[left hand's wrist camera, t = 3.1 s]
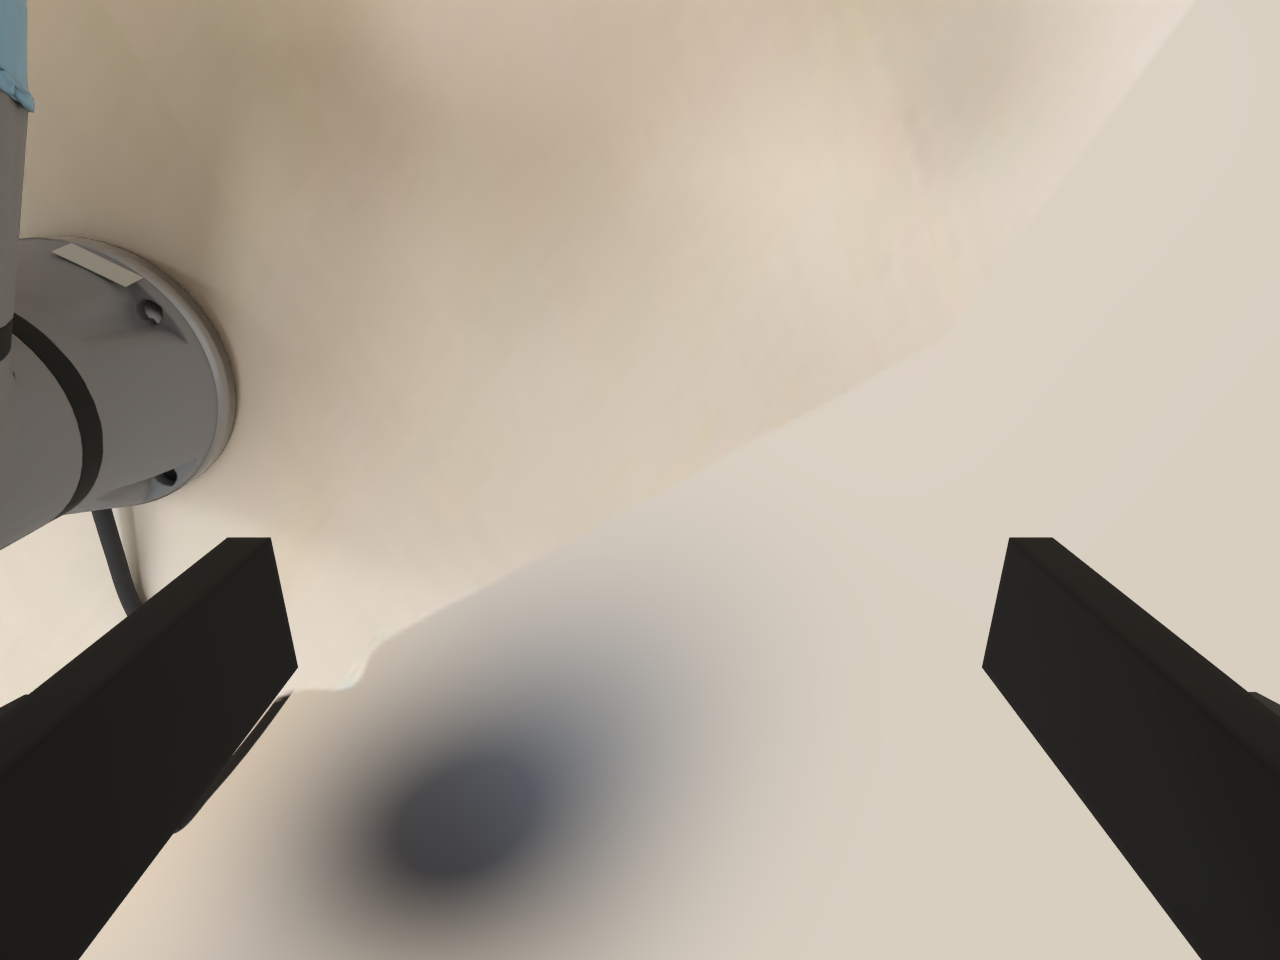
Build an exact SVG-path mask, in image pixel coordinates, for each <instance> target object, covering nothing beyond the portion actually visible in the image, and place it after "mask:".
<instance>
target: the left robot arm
mask: <svg viewBox="0 0 1280 960" xmlns="http://www.w3.org/2000/svg"><path fill="white" fill-rule="evenodd" d="M34 107H35V104H34V99H33V97H32V95H31V94H30V92H29V91H28V85H27V4H26V0H0V550H1V549H3V548H5V547H7V546H9V545H10V544H12V543H14V542H16V541H17V540H19V539H21V538H23V537H24V536H26V535H28V534H30V533H32V532H33V531H35V530H37V529H39V528H40V527H42V526H44V525H45V524H47V523H49V522H51V521H53V520H54V519H56V518H58V517H60V516H62V515H66V514H73V513H81V512H88V511H92V515H93V518H94V521H95V524H96V528H97V531H98V534H99V537H100V541H101V544H102V547H103V550H104V553H105V556H106V560H107V563H108V566H109V569H110V573H111V576H112V579H113V582H114V585H115V588H116V591H117V594H118V596H119V599H120V601H121V604H122V606H123V608H124V610H125V613H126V614H127V616H128V617H126V618H125V619H124V620H122V621H121V622H120V623H119V624H117V625H116V626H115V627H114V628H112V629H111V630H110V631H109V632H107V633H106V634H105V635H104V636H102V637H101V638H100V639H98V640H97V641H96V642H95V643H93V644H92V645H91V646H90V647H88V648H87V649H86V650H85V651H83V652H82V653H81V654H79V655H78V656H77V657H76V658H74V659H73V660H72V661H71V662H69V663H68V664H67V665H66V666H64V667H63V668H62V669H60V670H59V671H58V672H57V673H55V674H54V675H53V676H52V677H50V678H49V679H48V680H47V681H45V682H44V683H43V684H41V685H40V686H39V687H38V688H36V689H35V690H34V691H33V692H31V693H30V694H29V695H23V696H21V697H20V698H18V699H16V700H14V701H12V702H10V703H8V704H6V705H4V706H3V707H1V708H0V960H79V958H80V957H81V956H82V954H83V953H84V952H85V950H86V949H87V948H88V946H89V945H90V944H91V942H92V941H93V940H94V938H95V937H96V936H97V934H98V933H99V932H100V930H101V929H102V928H103V926H104V925H105V924H106V922H107V921H108V920H109V918H110V917H111V916H112V914H113V913H114V912H115V910H116V909H117V908H118V906H119V905H120V904H121V902H122V901H123V900H124V898H125V897H126V896H127V895H128V893H129V892H130V890H131V889H132V888H133V887H134V885H135V884H136V883H137V881H138V880H139V879H140V877H141V876H142V875H143V873H144V872H145V871H146V869H147V868H148V866H149V865H150V864H151V863H152V861H153V860H154V858H155V857H156V856H157V855H158V853H159V852H160V851H161V849H162V848H163V846H164V845H165V844H166V843H167V841H168V840H169V839H170V837H171V836H172V835H173V834H174V833H177V832H179V831H180V830H182V829H183V828H184V827H186V826H187V825H188V824H189V823H190V821H191V820H192V819H193V818H194V817H195V816H196V814H197V813H198V812H199V811H200V809H201V808H202V807H203V806H204V804H205V803H206V802H207V801H208V799H209V798H210V797H211V796H212V795H213V794H214V792H215V791H216V790H217V789H218V788H219V787H220V786H221V784H222V783H223V782H224V781H225V780H226V779H227V778H228V776H229V775H230V774H231V773H232V772H233V770H234V769H235V768H236V767H237V766H238V764H239V763H240V762H241V761H242V759H243V758H244V757H245V756H246V755H247V753H248V752H249V751H250V749H251V748H252V747H253V746H254V744H255V743H256V742H257V740H258V739H259V738H260V736H261V735H262V734H263V733H264V731H265V730H266V728H267V727H268V726H269V724H270V723H271V722H272V720H273V719H274V718H275V716H276V715H277V714H278V712H279V711H280V709H281V708H282V706H283V705H284V704H285V702H286V701H287V700H288V698H289V697H290V695H291V694H292V693H289V694H287V695H284V696H281V697H278V698H277V699H276V700H275V701H274V703H273V704H272V706H271V707H270V708H269V710H268V711H267V712H266V714H265V715H264V716H263V717H262V719H261V720H260V721H259V723H258V724H257V725H256V727H255V728H254V729H253V730H252V732H251V733H250V734H249V735H248V733H249V732H250V731H251V729H252V728H253V727H254V725H255V724H256V723H257V721H258V720H259V719H260V717H261V716H262V715H263V713H264V712H265V711H266V709H267V708H268V707H269V705H270V704H271V703H272V701H273V700H274V699H275V697H276V696H277V695H278V693H279V692H280V691H281V689H282V688H283V687H284V685H285V684H286V683H287V681H288V680H289V679H290V677H291V676H292V675H293V673H294V672H295V671H296V669H297V668H298V665H297V660H296V655H295V651H294V646H293V641H292V636H291V632H290V627H289V622H288V617H287V613H286V608H285V603H284V599H283V594H282V589H281V584H280V580H279V575H278V570H277V565H276V561H275V556H274V551H273V546H272V542H271V538H226V539H225V540H224V541H223V542H221V543H220V544H219V545H217V546H216V547H215V548H214V549H212V550H211V551H210V552H209V553H207V554H206V555H205V556H204V557H202V558H201V559H200V560H198V561H197V562H196V563H195V564H193V565H192V566H191V567H190V568H188V569H187V570H186V571H185V572H183V573H182V574H181V575H179V576H178V577H177V578H176V579H174V580H173V581H172V582H171V583H169V584H168V585H167V586H166V587H164V588H163V589H162V590H160V591H159V592H158V593H157V594H155V595H154V596H153V597H152V598H150V599H149V600H148V601H147V602H145V603H144V604H143V605H142V604H141V601H140V599H139V597H138V594H137V592H136V589H135V586H134V584H133V581H132V578H131V574H130V571H129V567H128V564H127V560H126V557H125V553H124V550H123V547H122V543H121V540H120V537H119V533H118V530H117V526H116V523H115V519H114V516H113V512H112V509H111V508H117V507H124V506H133V505H139V504H144V503H148V502H151V501H155V500H158V499H160V498H163V497H165V496H167V495H169V494H171V493H173V492H175V491H176V490H178V489H180V488H181V487H183V486H184V485H186V484H188V483H189V482H191V481H193V480H194V479H196V478H197V477H198V476H200V475H201V474H202V473H204V472H205V471H206V470H207V469H208V468H209V467H210V466H211V465H212V464H213V463H214V462H215V460H216V459H217V458H218V457H219V455H220V454H221V452H222V451H223V449H224V447H225V445H226V443H227V441H228V439H229V436H230V433H231V430H232V427H233V422H234V417H235V408H236V392H235V383H234V377H233V373H232V368H231V365H230V362H229V359H228V355H227V353H226V351H225V348H224V346H223V343H222V341H221V339H220V337H219V336H218V334H217V332H216V330H215V328H214V327H213V325H212V324H211V322H210V320H209V319H208V317H207V316H206V315H205V313H204V312H203V311H202V309H201V308H200V307H199V305H198V304H197V303H196V302H195V301H194V300H193V299H192V297H191V296H190V295H189V294H188V293H187V292H186V291H185V290H184V289H183V288H182V287H181V286H180V285H179V284H177V283H176V282H175V281H174V280H173V279H171V278H170V277H169V276H168V275H167V274H165V273H164V272H162V271H161V270H160V269H158V268H157V267H155V266H154V265H152V264H151V263H149V262H147V261H145V260H144V259H142V258H140V257H138V256H136V255H134V254H132V253H130V252H128V251H126V250H123V249H121V248H118V247H116V246H113V245H110V244H107V243H103V242H100V241H96V240H91V239H86V238H78V237H38V238H24V239H19V229H20V215H21V202H22V188H23V175H24V161H25V148H26V135H27V121H28V111H29V112H34ZM982 668H983V669H984V671H985V672H986V673H987V675H988V676H989V677H990V679H991V680H992V681H993V683H994V684H995V685H996V687H997V688H998V689H999V691H1000V692H1001V693H1002V695H1003V696H1004V697H1005V699H1006V700H1007V701H1008V703H1009V704H1010V705H1011V707H1012V708H1013V709H1014V711H1015V712H1016V713H1017V715H1018V716H1019V717H1020V719H1021V720H1022V721H1023V723H1024V724H1025V725H1026V727H1027V728H1028V729H1029V731H1030V732H1031V733H1032V735H1033V736H1034V737H1035V739H1036V740H1037V741H1038V743H1039V744H1040V745H1041V747H1042V748H1043V749H1044V751H1045V752H1046V753H1047V755H1048V756H1049V757H1050V759H1051V760H1052V761H1053V763H1054V764H1055V765H1056V767H1057V768H1058V769H1059V771H1060V772H1061V773H1062V775H1063V776H1064V777H1065V779H1066V780H1067V781H1068V783H1069V784H1070V785H1071V786H1072V788H1073V789H1074V791H1075V792H1076V793H1077V795H1078V796H1079V797H1080V799H1081V800H1082V801H1083V803H1084V804H1085V805H1086V807H1087V808H1088V809H1089V811H1090V812H1091V813H1092V815H1093V816H1094V817H1095V819H1096V820H1097V821H1098V823H1099V824H1100V825H1101V826H1102V828H1103V829H1104V831H1105V832H1106V833H1107V835H1108V836H1109V837H1110V839H1111V840H1112V841H1113V843H1114V844H1115V845H1116V846H1117V848H1118V849H1119V850H1120V852H1121V853H1122V855H1123V856H1124V857H1125V859H1126V860H1127V861H1128V862H1129V864H1130V865H1131V867H1132V868H1133V869H1134V871H1135V872H1136V873H1137V875H1138V876H1139V877H1140V879H1141V880H1142V881H1143V882H1144V884H1145V885H1146V887H1147V888H1148V889H1149V890H1150V892H1151V893H1152V894H1153V896H1154V897H1155V898H1156V900H1157V901H1158V902H1159V904H1160V905H1161V906H1162V908H1163V909H1164V910H1165V912H1166V913H1167V914H1168V916H1169V917H1170V918H1171V920H1172V921H1173V922H1174V924H1175V925H1176V926H1177V928H1178V929H1179V930H1180V932H1181V933H1182V934H1183V936H1184V937H1185V938H1186V940H1187V941H1188V942H1189V944H1190V945H1191V946H1192V948H1193V949H1194V950H1195V952H1196V953H1197V954H1198V956H1199V957H1200V958H1201V960H1280V705H1279V704H1278V703H1276V702H1274V701H1272V700H1270V699H1268V698H1266V697H1264V696H1262V695H1260V694H1258V693H1257V692H1247V691H1246V690H1245V689H1243V688H1242V687H1241V686H1240V685H1239V684H1237V683H1236V682H1235V681H1233V680H1232V679H1231V678H1230V677H1228V676H1227V675H1226V674H1225V673H1223V672H1222V671H1221V670H1220V669H1218V668H1217V667H1216V666H1214V665H1213V664H1212V663H1211V662H1209V661H1208V660H1207V659H1206V658H1204V657H1203V656H1202V655H1201V654H1199V653H1198V652H1197V651H1195V650H1194V649H1193V648H1192V647H1190V646H1189V645H1188V644H1187V643H1185V642H1184V641H1183V640H1182V639H1180V638H1179V637H1178V636H1176V635H1175V634H1174V633H1173V632H1171V631H1170V630H1169V629H1168V628H1166V627H1165V626H1164V625H1163V624H1161V623H1160V622H1159V621H1157V620H1156V619H1155V618H1154V617H1152V616H1151V615H1150V614H1149V613H1147V612H1146V611H1145V610H1144V609H1142V608H1141V607H1140V606H1139V605H1137V604H1136V603H1135V602H1133V601H1132V600H1131V599H1130V598H1128V597H1127V596H1126V595H1125V594H1123V593H1122V592H1121V591H1120V590H1118V589H1117V588H1116V587H1114V586H1113V585H1112V584H1111V583H1109V582H1108V581H1107V580H1106V579H1104V578H1103V577H1102V576H1100V575H1099V574H1098V573H1097V572H1095V571H1094V570H1093V569H1092V568H1090V567H1089V566H1088V565H1087V564H1085V563H1084V562H1083V561H1081V560H1080V559H1079V558H1078V557H1076V556H1075V555H1074V554H1073V553H1071V552H1070V551H1069V550H1068V549H1066V548H1065V547H1064V546H1063V545H1061V544H1060V543H1059V542H1057V541H1056V540H1055V539H1054V538H1009V542H1008V546H1007V551H1006V556H1005V561H1004V565H1003V570H1002V575H1001V580H1000V584H999V589H998V594H997V599H996V603H995V608H994V613H993V617H992V622H991V627H990V632H989V637H988V641H987V646H986V651H985V656H984V660H983V665H982ZM247 735H248V737H247V738H246V739H245V737H246V736H247ZM244 739H245V740H244ZM243 740H244V742H243V743H242V741H243ZM241 743H242V744H241ZM240 744H241V745H240ZM239 745H240V747H239ZM238 747H239V748H238ZM237 748H238V749H237ZM236 749H237V750H236ZM233 753H234V754H233Z"/></svg>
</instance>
